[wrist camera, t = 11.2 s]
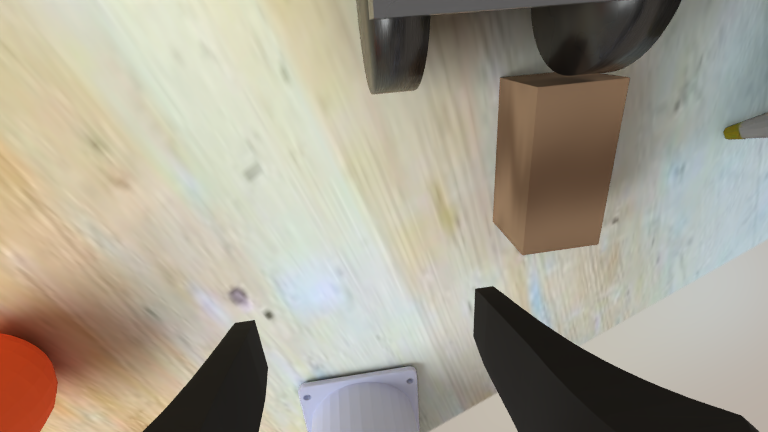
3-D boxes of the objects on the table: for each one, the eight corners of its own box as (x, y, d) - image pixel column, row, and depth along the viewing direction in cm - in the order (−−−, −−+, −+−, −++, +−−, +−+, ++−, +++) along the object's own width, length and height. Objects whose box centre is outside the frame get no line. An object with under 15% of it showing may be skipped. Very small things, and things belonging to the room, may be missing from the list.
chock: (498, 77, 19) (538, 87, 16) (574, 69, 20) (629, 77, 16) (491, 220, 23) (522, 255, 19) (556, 211, 23) (598, 244, 19)
